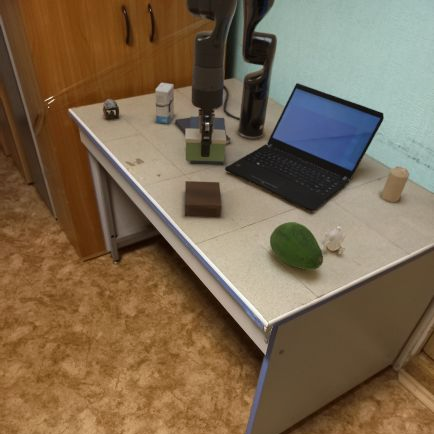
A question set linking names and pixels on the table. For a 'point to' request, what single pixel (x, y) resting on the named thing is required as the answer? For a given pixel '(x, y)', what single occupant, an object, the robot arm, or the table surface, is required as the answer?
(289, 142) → the laptop
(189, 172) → the table surface
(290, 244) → the fruit
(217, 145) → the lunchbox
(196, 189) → the low shelf
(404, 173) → the candle
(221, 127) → the blue box
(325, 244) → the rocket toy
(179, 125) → the notebook
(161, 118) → the ink box
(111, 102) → the helmet
